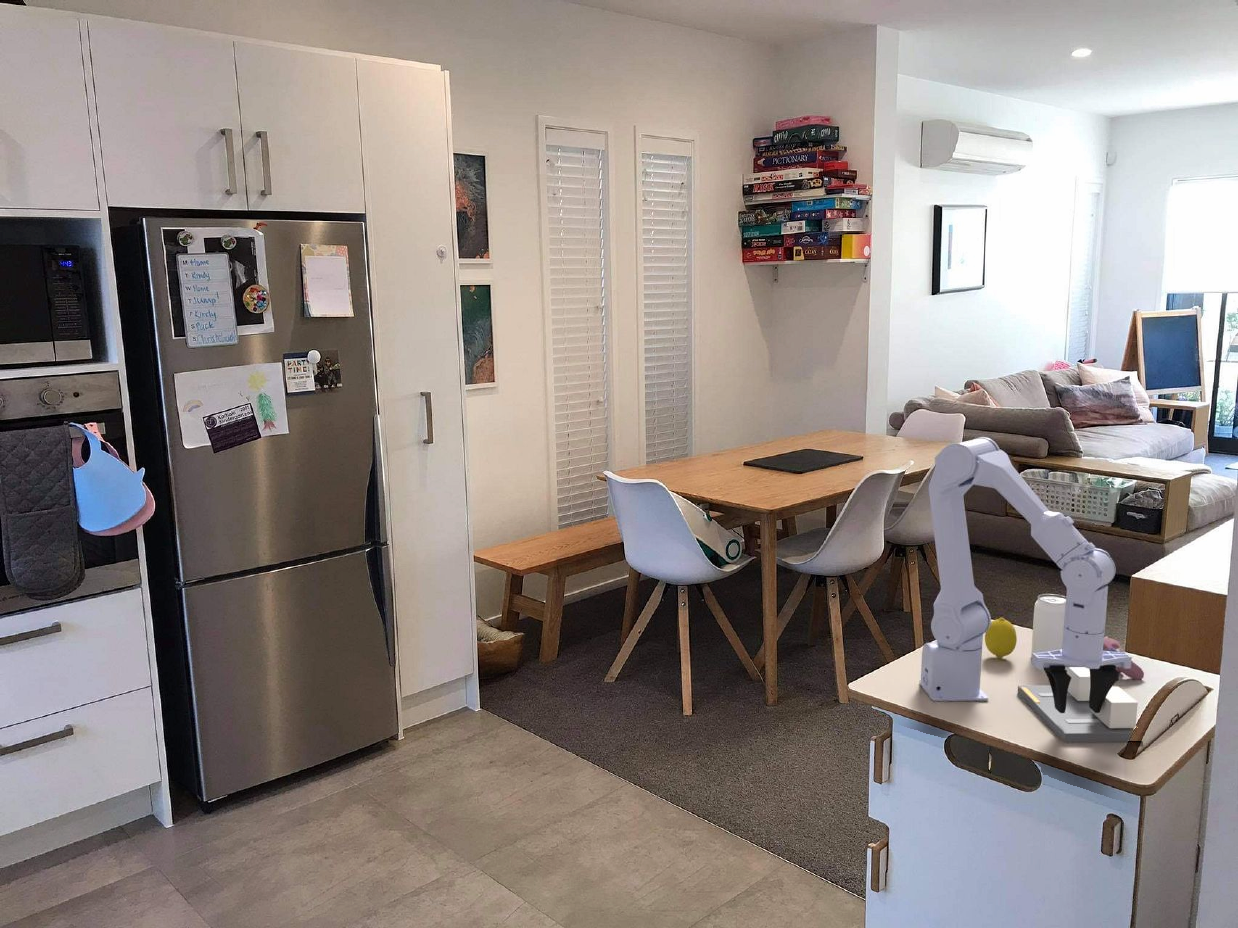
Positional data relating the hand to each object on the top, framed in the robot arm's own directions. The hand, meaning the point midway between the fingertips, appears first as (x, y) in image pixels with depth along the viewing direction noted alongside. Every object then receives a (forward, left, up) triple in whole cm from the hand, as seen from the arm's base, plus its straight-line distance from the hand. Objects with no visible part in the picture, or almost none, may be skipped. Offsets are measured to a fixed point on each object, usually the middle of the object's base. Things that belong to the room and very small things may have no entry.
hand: (1077, 710), depth 153 cm
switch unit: (+2, +5, -3) cm, 7 cm away
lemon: (-1, +30, -4) cm, 30 cm away
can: (+8, +29, -4) cm, 30 cm away
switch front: (+6, 0, -2) cm, 6 cm away
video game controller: (+18, +24, -4) cm, 31 cm away
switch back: (+5, +10, -2) cm, 11 cm away
